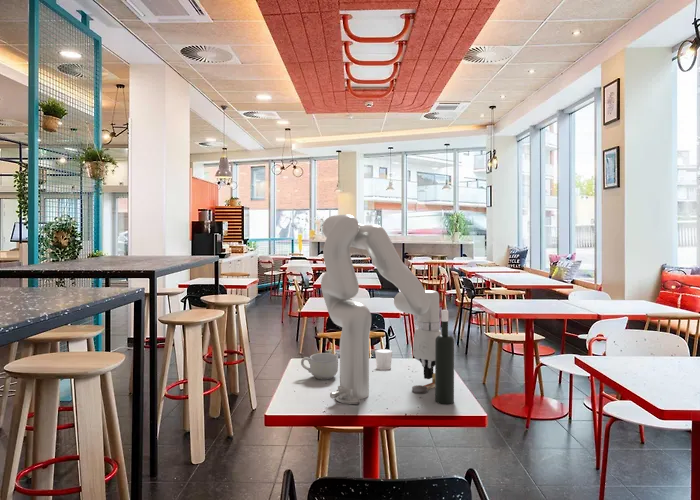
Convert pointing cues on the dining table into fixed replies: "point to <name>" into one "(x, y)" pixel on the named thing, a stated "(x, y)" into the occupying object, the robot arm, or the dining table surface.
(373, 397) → the dining table surface
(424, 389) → the multicoloured piece
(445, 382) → the wine bottle
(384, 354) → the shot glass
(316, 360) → the teacup
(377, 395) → the dining table surface
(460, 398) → the dining table surface
